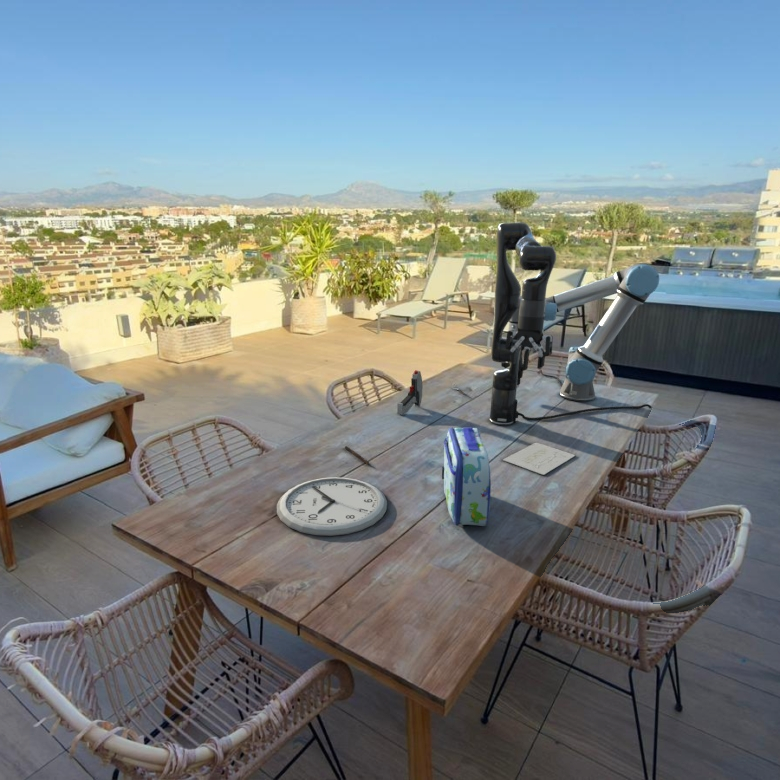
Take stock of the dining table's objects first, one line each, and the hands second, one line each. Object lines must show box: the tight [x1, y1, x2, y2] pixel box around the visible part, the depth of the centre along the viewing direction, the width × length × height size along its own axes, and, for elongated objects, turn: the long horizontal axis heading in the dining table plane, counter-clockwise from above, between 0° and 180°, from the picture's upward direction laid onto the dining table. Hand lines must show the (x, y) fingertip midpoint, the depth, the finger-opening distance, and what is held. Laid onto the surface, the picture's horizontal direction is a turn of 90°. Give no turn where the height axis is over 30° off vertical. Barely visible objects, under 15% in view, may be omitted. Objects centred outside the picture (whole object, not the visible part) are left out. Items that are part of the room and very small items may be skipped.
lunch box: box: [441, 426, 492, 527], centre depth 140 cm, size 26×11×21 cm, turn 179°
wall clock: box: [276, 476, 388, 537], centre depth 142 cm, size 30×2×30 cm
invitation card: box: [502, 442, 577, 476], centre depth 174 cm, size 21×1×15 cm
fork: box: [450, 382, 467, 397], centre depth 243 cm, size 3×16×2 cm, turn 15°
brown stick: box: [344, 445, 370, 465], centre depth 173 cm, size 15×1×1 cm, turn 34°
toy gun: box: [396, 369, 423, 416], centre depth 215 cm, size 2×16×15 cm
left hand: (526, 365), depth 163 cm, fingers open, 8 cm apart
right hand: (513, 383), depth 235 cm, fingers closed on brick, 4 cm apart
